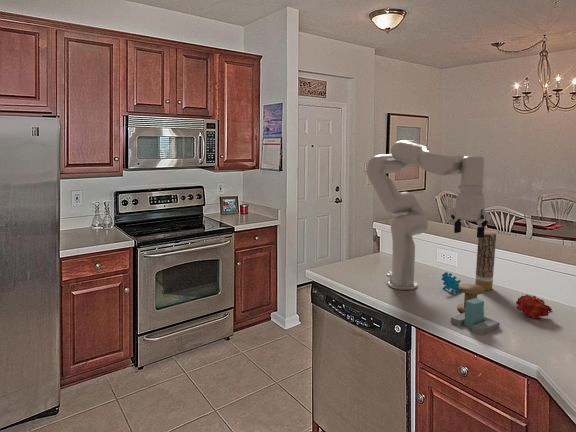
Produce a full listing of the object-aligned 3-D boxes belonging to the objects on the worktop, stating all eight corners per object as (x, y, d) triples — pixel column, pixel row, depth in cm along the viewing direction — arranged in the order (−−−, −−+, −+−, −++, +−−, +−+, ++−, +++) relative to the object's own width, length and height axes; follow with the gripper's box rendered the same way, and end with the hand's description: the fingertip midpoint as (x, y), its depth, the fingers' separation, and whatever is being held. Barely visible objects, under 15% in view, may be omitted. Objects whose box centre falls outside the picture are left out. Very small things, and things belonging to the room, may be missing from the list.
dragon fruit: (512, 314, 165) (547, 328, 157) (509, 308, 159) (546, 322, 151) (521, 294, 166) (556, 307, 159) (518, 287, 160) (555, 300, 152)
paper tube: (493, 291, 185) (498, 233, 180) (476, 290, 186) (480, 233, 182) (490, 286, 192) (494, 230, 187) (473, 285, 193) (477, 229, 188)
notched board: (450, 322, 155) (451, 317, 155) (468, 316, 160) (468, 311, 160) (481, 335, 145) (481, 329, 145) (499, 327, 150) (499, 322, 150)
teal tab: (464, 325, 153) (465, 301, 151) (473, 322, 155) (475, 298, 154) (473, 329, 150) (474, 304, 148) (482, 325, 152) (484, 301, 151)
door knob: (452, 309, 167) (453, 286, 165) (467, 304, 171) (468, 282, 170) (473, 317, 159) (474, 293, 158) (488, 311, 164) (489, 288, 162)
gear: (451, 292, 179) (439, 271, 184) (441, 299, 183) (430, 278, 188) (468, 291, 185) (456, 270, 190) (458, 297, 189) (446, 277, 194)
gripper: (445, 188, 167) (442, 232, 170) (486, 192, 152) (483, 240, 155) (457, 186, 171) (455, 229, 174) (499, 191, 156) (495, 237, 159)
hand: (468, 234), depth 165 cm, fingers open, 9 cm apart
